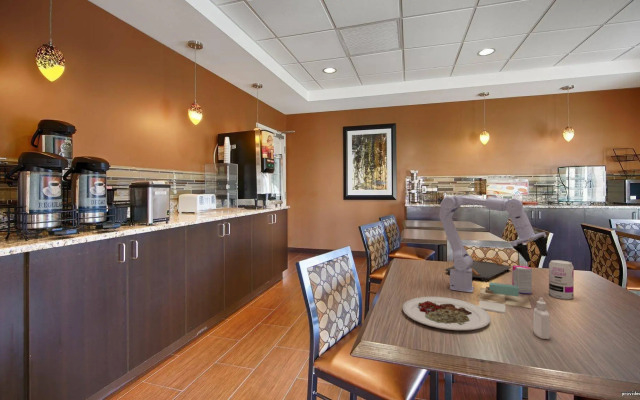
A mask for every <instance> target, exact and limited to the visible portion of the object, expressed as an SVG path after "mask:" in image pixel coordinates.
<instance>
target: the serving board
mask: <svg viewBox="0 0 640 400" xmlns="http://www.w3.org/2000/svg"><path fill="white" fill-rule="evenodd" d="M485 260H486V261H485ZM511 268H512V267H511V266H510V265H505V264H503V263H501V262H500V261H499V260H498V259H495V258H492V257H482V258H480V259H477V260H473V265H472V266H471V269H472V278H477V279H481V282H484V283H486V282H487V279H491V278H493V277H495V276H498V275H499V274H501V273H503V272H505V270H508V271H509V270H510V269H511ZM451 269H455V267H454V265H453V266H450V267H448V268H446V269H444V271H445V272H447V275H449V274H450V270H451Z"/></svg>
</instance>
